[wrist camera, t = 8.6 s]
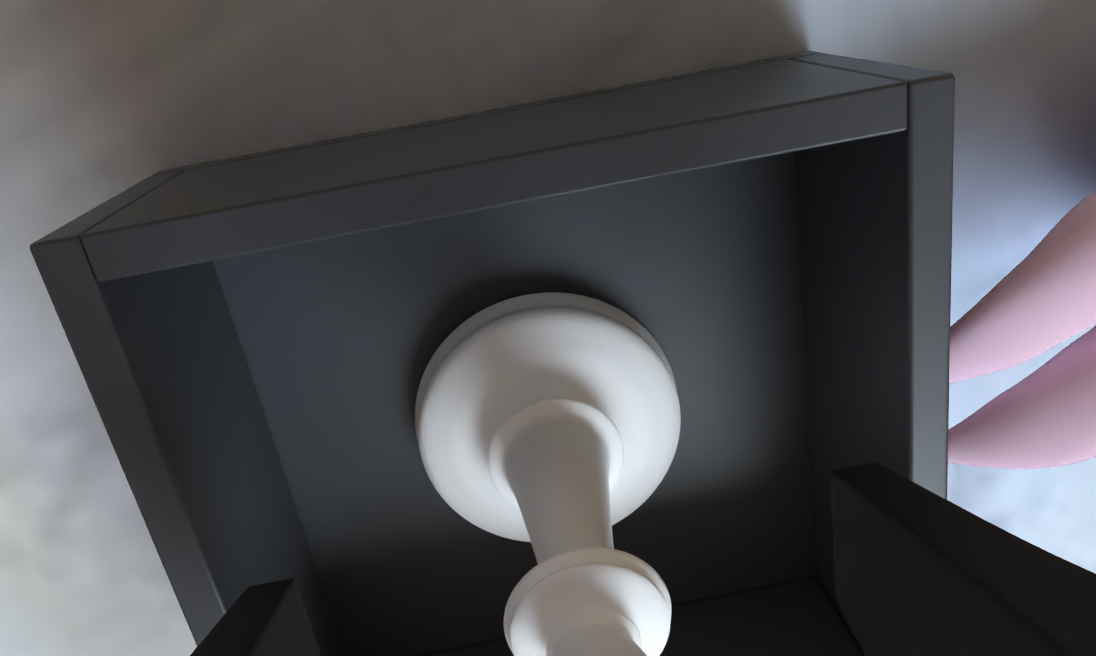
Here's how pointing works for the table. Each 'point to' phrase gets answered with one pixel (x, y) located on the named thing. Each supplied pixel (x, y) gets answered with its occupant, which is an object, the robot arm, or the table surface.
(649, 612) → the chess piece
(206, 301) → the bin
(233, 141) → the table surface
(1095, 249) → the rabbit figure
